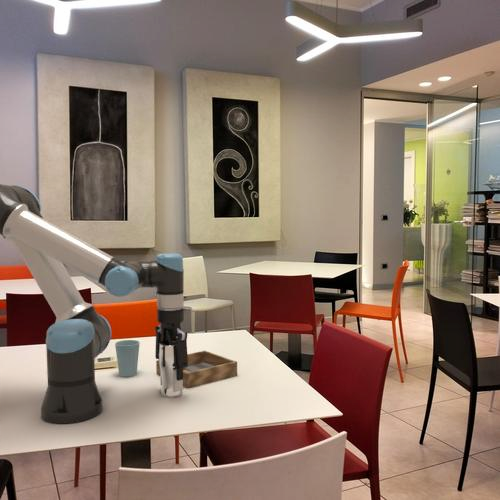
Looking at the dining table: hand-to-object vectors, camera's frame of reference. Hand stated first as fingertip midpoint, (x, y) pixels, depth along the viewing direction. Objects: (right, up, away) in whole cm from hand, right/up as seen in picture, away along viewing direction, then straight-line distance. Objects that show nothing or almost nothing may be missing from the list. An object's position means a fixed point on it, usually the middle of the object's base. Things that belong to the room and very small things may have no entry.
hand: (171, 387), depth 148 cm
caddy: (+5, -1, +18) cm, 19 cm away
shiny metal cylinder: (0, -2, 0) cm, 2 cm away
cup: (-17, -1, +19) cm, 25 cm away
